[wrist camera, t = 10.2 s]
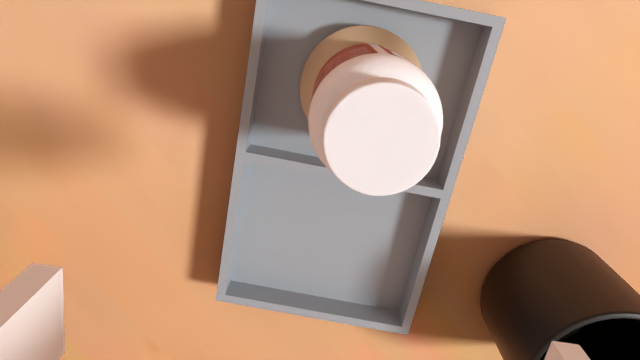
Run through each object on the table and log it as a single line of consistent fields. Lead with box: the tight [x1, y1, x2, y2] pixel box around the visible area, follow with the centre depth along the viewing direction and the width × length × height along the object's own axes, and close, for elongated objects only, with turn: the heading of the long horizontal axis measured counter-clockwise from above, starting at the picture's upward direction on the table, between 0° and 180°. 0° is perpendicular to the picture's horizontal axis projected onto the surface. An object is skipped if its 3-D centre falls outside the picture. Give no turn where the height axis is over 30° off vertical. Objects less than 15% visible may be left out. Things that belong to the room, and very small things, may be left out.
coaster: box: [300, 25, 422, 119], centre depth 29 cm, size 8×8×1 cm
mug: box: [481, 239, 640, 360], centre depth 31 cm, size 9×12×9 cm
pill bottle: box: [308, 43, 443, 196], centre depth 24 cm, size 6×6×11 cm
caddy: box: [216, 0, 506, 335], centre depth 31 cm, size 14×22×2 cm, turn 169°
